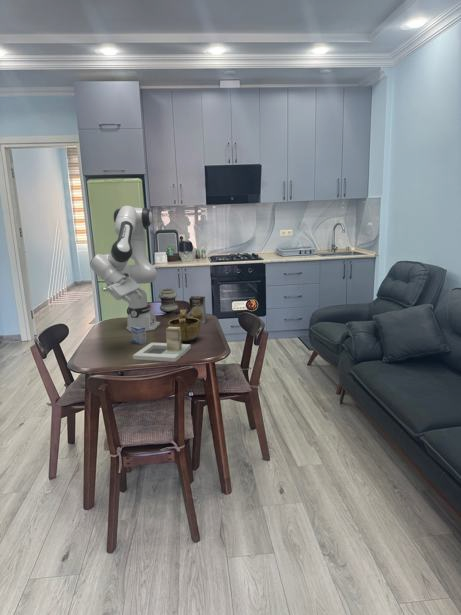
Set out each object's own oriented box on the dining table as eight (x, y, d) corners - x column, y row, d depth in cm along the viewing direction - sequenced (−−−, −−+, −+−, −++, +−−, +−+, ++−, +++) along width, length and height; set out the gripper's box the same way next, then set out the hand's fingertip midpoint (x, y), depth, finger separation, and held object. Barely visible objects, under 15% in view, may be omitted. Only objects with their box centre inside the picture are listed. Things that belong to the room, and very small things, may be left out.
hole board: (151, 346, 219) (151, 341, 219) (190, 348, 213) (190, 343, 213) (133, 359, 201) (132, 354, 200) (175, 361, 195) (175, 357, 194)
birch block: (170, 348, 207) (168, 326, 205) (181, 348, 206) (180, 327, 203) (167, 350, 204) (165, 329, 201) (178, 351, 202) (177, 329, 199)
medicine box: (131, 342, 228) (130, 326, 226) (138, 340, 231) (137, 325, 229) (139, 344, 223) (138, 329, 221) (146, 342, 226) (145, 327, 224)
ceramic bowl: (170, 335, 237) (168, 309, 234) (200, 333, 238) (199, 308, 235) (168, 347, 215) (165, 319, 212) (201, 345, 216) (199, 317, 213)
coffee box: (190, 323, 260) (188, 298, 257) (192, 320, 267) (190, 296, 263) (204, 323, 259) (203, 298, 255) (206, 320, 265) (205, 296, 262)
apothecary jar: (161, 318, 276) (159, 291, 272) (159, 314, 287) (157, 288, 283) (179, 316, 278) (177, 290, 274) (177, 312, 290) (175, 287, 286)
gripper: (108, 280, 196) (129, 301, 196) (129, 272, 215) (148, 291, 215) (101, 289, 198) (122, 310, 198) (122, 281, 217) (141, 299, 217)
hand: (136, 300), depth 207 cm, fingers open, 8 cm apart
